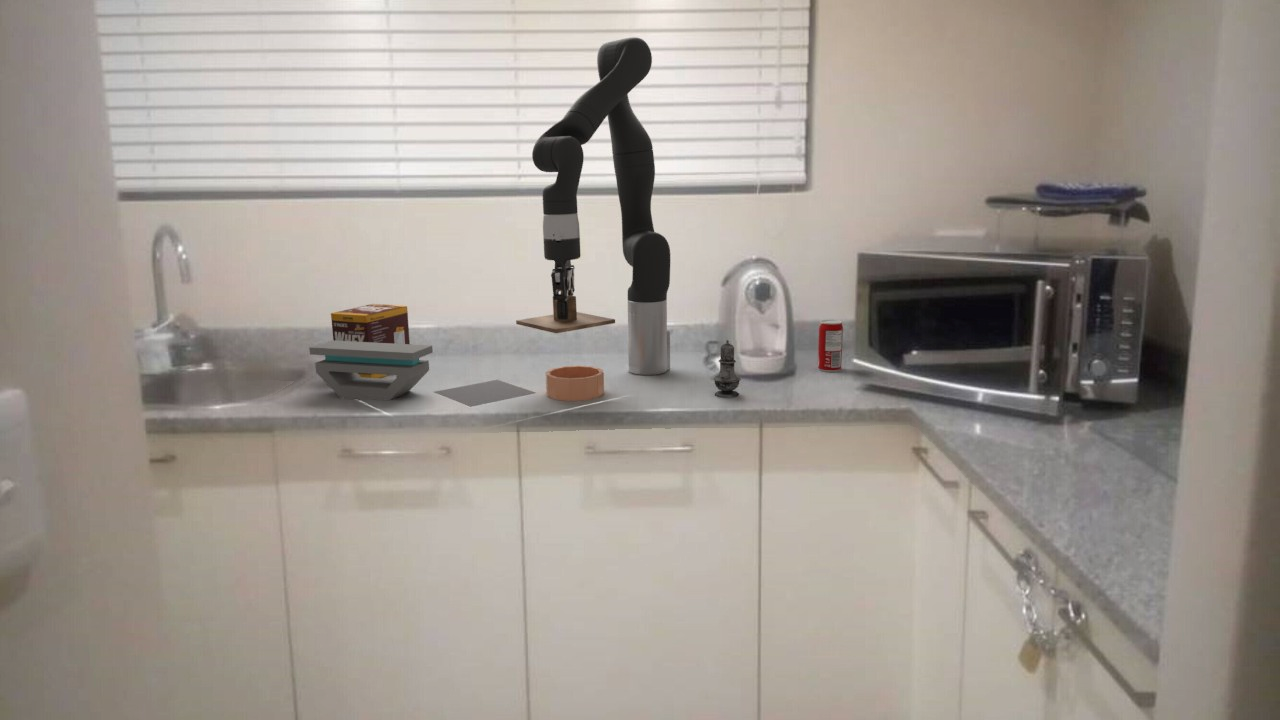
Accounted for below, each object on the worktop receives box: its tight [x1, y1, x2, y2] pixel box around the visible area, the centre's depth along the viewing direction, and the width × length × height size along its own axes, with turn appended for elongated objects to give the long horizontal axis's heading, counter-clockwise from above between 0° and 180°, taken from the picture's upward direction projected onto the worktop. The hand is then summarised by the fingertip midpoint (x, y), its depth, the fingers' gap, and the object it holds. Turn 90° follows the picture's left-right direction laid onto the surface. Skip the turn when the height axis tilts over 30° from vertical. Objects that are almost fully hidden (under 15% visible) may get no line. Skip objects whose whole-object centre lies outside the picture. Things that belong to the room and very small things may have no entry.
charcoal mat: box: [434, 379, 537, 407], centre depth 185 cm, size 16×16×1 cm
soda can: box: [817, 319, 844, 373], centre depth 203 cm, size 6×6×12 cm
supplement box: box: [330, 303, 411, 379], centre depth 205 cm, size 10×15×16 cm
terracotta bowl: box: [545, 365, 605, 402], centre depth 183 cm, size 12×12×5 cm
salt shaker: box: [712, 339, 742, 399], centre depth 182 cm, size 6×6×12 cm
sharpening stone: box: [308, 339, 433, 401], centre depth 184 cm, size 25×8×11 cm, turn 74°
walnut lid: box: [515, 295, 616, 334], centre depth 180 cm, size 15×15×6 cm
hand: (565, 316), depth 181 cm, fingers closed on walnut lid, 5 cm apart
